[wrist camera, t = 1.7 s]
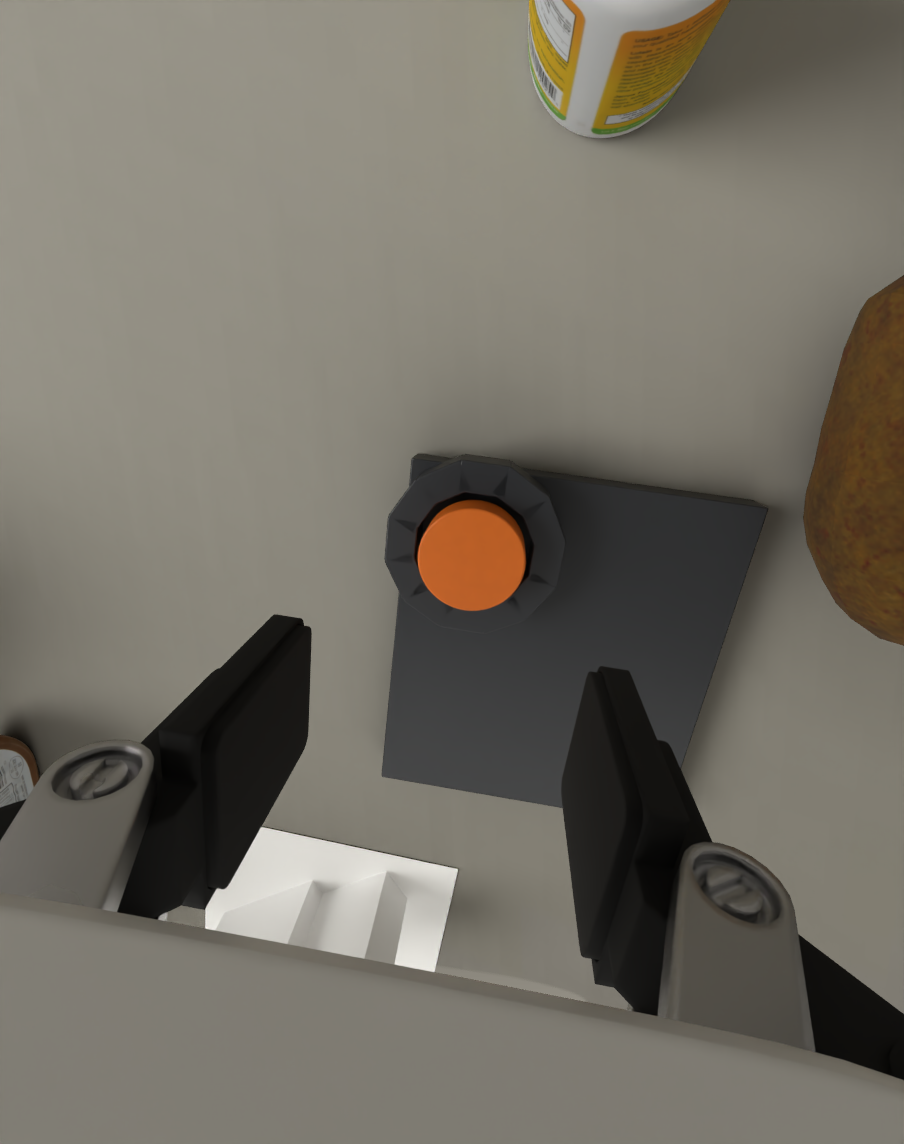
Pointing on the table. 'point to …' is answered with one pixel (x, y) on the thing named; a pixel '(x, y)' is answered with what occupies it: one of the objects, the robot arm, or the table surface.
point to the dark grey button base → (556, 621)
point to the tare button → (472, 555)
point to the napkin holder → (336, 900)
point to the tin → (16, 771)
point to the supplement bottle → (614, 58)
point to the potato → (864, 473)
